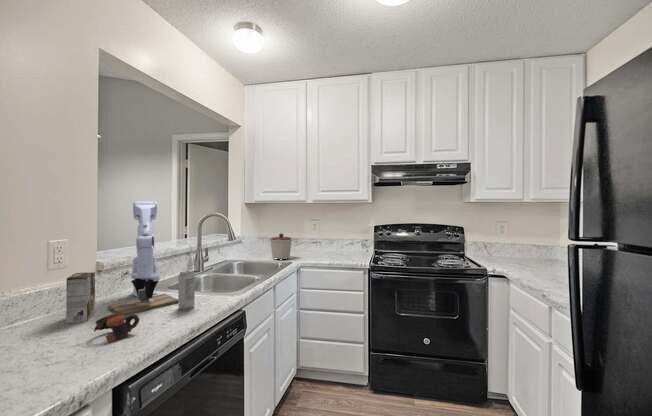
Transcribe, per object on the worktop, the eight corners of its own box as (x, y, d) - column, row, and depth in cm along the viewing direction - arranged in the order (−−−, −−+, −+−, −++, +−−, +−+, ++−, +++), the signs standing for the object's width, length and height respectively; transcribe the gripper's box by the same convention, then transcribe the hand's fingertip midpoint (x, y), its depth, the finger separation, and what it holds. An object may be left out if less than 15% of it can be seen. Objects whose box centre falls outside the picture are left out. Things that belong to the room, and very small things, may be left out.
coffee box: (74, 315, 114) (75, 272, 114) (95, 313, 117) (95, 271, 117) (65, 324, 106) (65, 278, 106) (87, 321, 108) (88, 276, 108)
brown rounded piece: (95, 348, 89) (89, 321, 91) (102, 350, 96) (96, 325, 99) (141, 329, 95) (134, 304, 97) (144, 332, 103) (138, 309, 105)
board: (108, 307, 123) (108, 302, 123) (164, 296, 140) (165, 291, 140) (120, 316, 113) (120, 310, 113) (179, 302, 130) (179, 297, 130)
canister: (266, 260, 238) (266, 234, 238) (274, 257, 256) (275, 232, 256) (287, 261, 234) (287, 234, 234) (295, 258, 252) (295, 232, 252)
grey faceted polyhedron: (150, 295, 130) (150, 286, 130) (152, 298, 126) (152, 289, 126) (137, 297, 127) (137, 288, 127) (139, 300, 123) (139, 291, 123)
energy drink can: (187, 304, 128) (188, 269, 128) (197, 306, 125) (198, 270, 125) (175, 308, 123) (175, 271, 123) (185, 311, 120) (185, 273, 120)
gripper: (124, 264, 126) (123, 297, 126) (148, 267, 120) (148, 301, 120) (140, 261, 132) (139, 292, 132) (164, 264, 127) (163, 296, 127)
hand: (144, 296), depth 127 cm, fingers closed on grey faceted polyhedron, 5 cm apart
